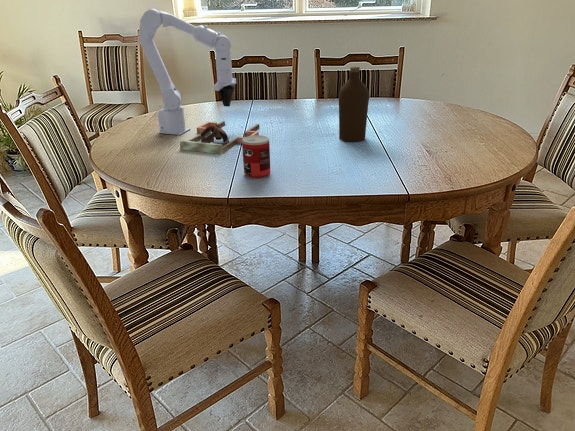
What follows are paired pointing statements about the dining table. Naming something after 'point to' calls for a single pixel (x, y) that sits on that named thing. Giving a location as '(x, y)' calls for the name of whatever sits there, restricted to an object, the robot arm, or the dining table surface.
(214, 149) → the channel
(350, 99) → the olive oil
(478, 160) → the dining table surface
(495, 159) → the dining table surface
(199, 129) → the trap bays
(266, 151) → the canned food
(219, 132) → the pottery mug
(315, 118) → the dining table surface
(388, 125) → the dining table surface
